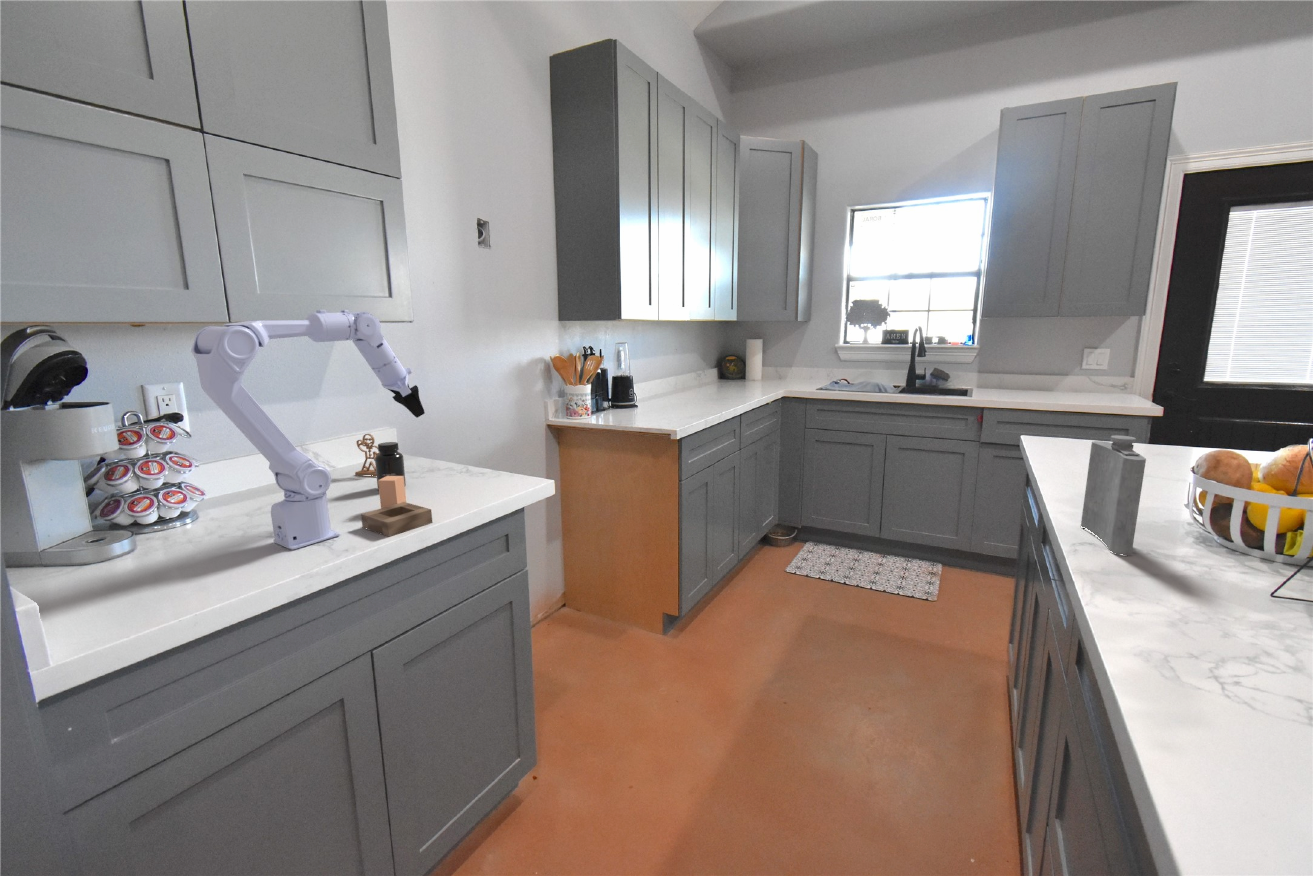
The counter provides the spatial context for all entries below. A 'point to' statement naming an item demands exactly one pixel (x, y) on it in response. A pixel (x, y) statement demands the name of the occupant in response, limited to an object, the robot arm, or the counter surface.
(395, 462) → the supplement bottle
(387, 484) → the peg
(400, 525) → the socket block
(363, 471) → the gingerbread man figurine
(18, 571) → the counter surface
